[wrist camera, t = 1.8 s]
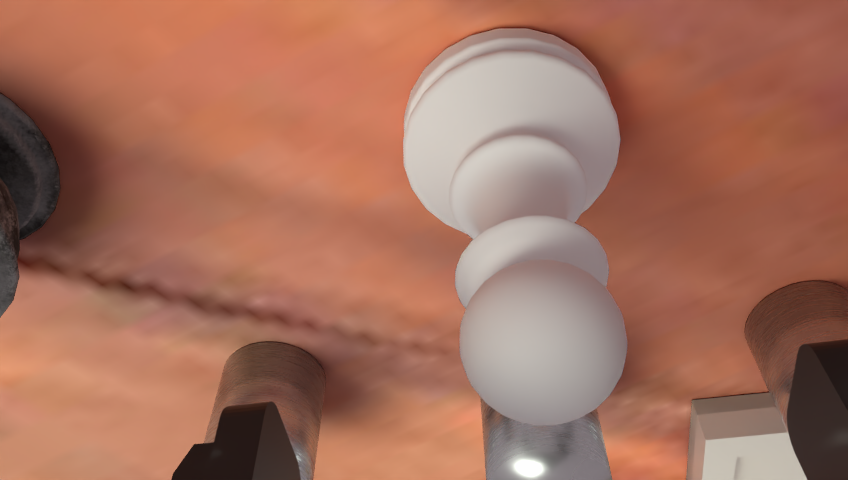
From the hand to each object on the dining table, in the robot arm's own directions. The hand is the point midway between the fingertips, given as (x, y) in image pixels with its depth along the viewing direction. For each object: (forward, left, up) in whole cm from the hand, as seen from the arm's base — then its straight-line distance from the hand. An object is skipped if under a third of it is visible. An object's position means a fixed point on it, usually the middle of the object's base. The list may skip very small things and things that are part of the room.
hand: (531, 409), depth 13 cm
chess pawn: (0, 0, -9) cm, 9 cm away
